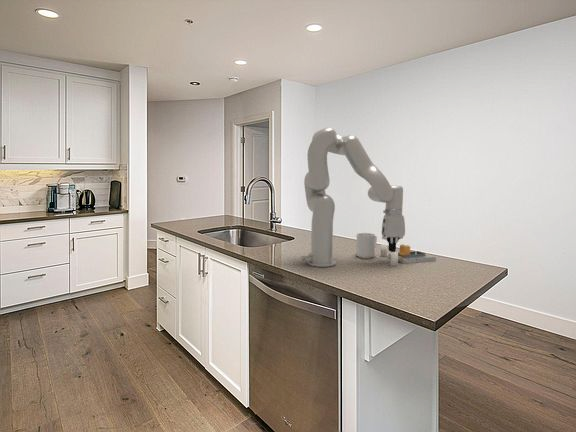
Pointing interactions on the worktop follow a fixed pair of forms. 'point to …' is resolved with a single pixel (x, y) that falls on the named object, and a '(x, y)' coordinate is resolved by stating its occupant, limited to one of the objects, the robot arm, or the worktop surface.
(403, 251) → the toggle
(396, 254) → the post near
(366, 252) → the mug
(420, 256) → the panel
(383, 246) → the post far
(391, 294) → the worktop surface
